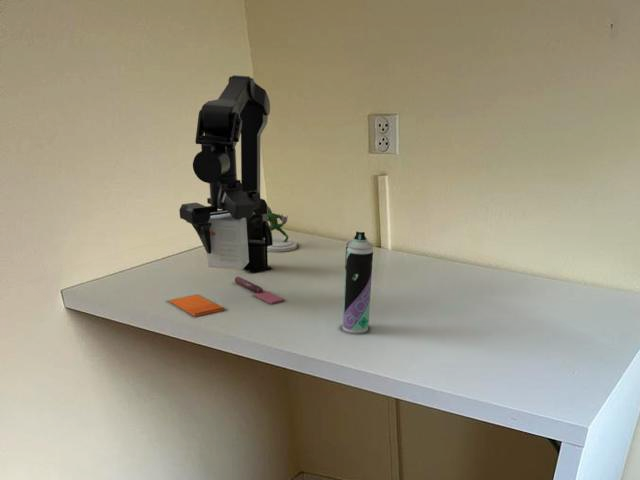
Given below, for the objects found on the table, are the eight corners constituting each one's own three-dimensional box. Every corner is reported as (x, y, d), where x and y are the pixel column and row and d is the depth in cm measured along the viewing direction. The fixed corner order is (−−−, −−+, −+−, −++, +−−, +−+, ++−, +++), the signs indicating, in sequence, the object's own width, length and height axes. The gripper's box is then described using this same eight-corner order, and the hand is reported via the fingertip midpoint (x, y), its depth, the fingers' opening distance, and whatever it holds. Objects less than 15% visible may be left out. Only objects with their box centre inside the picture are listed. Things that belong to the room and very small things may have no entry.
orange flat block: (197, 295, 155) (197, 293, 154) (223, 310, 148) (223, 307, 148) (169, 301, 151) (169, 299, 150) (195, 316, 144) (195, 313, 144)
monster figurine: (274, 237, 199) (273, 200, 193) (305, 246, 194) (305, 208, 188) (245, 245, 191) (244, 207, 185) (277, 254, 186) (277, 215, 180)
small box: (249, 263, 153) (247, 214, 147) (242, 270, 148) (239, 220, 142) (215, 260, 153) (211, 211, 147) (207, 267, 149) (202, 217, 143)
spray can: (349, 335, 141) (354, 236, 129) (338, 325, 145) (341, 229, 133) (372, 331, 143) (379, 234, 132) (360, 322, 147) (366, 227, 135)
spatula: (230, 283, 163) (229, 277, 162) (242, 281, 165) (242, 274, 164) (271, 304, 153) (271, 297, 152) (283, 301, 155) (283, 294, 154)
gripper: (203, 185, 130) (209, 266, 139) (282, 177, 141) (283, 253, 149) (174, 174, 136) (182, 253, 145) (251, 167, 147) (254, 241, 156)
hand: (227, 250), depth 149 cm, fingers closed on small box, 9 cm apart
